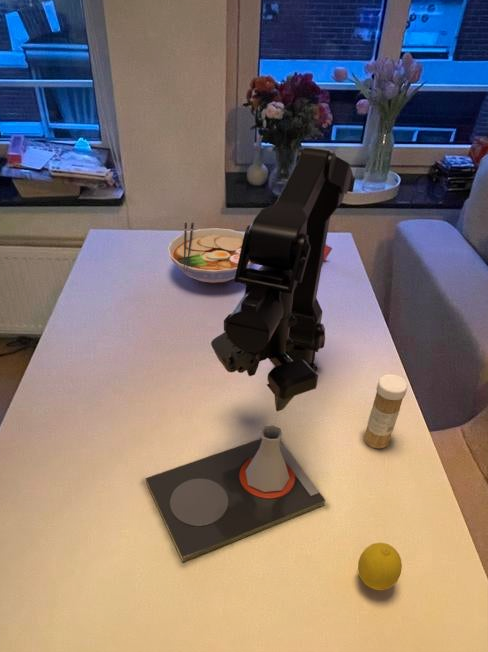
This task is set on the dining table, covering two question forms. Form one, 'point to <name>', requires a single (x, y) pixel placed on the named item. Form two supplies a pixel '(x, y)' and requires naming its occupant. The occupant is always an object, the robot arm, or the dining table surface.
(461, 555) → the dining table surface
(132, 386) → the dining table surface
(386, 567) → the lemon
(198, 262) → the ramen bowl
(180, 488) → the cooktop
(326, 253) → the geometric puzzle
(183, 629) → the dining table surface
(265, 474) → the flask
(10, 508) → the dining table surface
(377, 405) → the sprinkles bottle
